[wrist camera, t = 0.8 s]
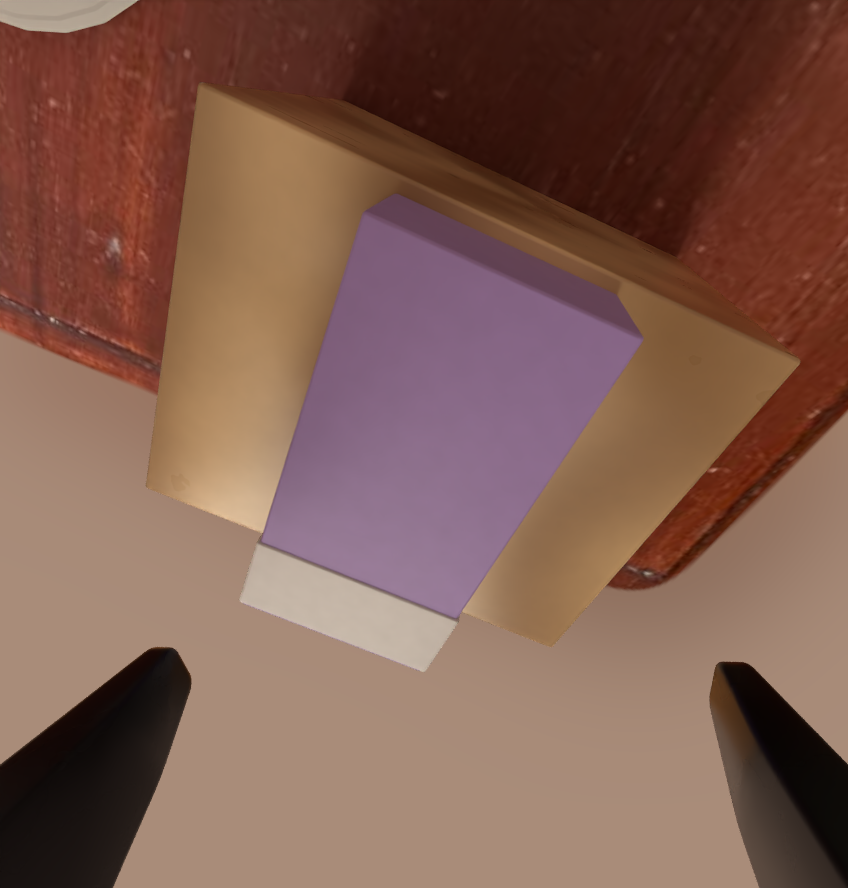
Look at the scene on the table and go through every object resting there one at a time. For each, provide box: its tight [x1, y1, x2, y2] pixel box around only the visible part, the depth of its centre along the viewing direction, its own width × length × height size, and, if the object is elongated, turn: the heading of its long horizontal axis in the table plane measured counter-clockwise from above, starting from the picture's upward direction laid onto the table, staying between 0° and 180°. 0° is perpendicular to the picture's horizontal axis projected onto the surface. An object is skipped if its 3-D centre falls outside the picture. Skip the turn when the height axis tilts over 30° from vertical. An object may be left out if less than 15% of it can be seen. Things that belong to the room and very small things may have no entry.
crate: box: [146, 83, 800, 647], centre depth 16 cm, size 12×10×9 cm
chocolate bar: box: [240, 194, 644, 672], centre depth 11 cm, size 5×9×2 cm, turn 158°
